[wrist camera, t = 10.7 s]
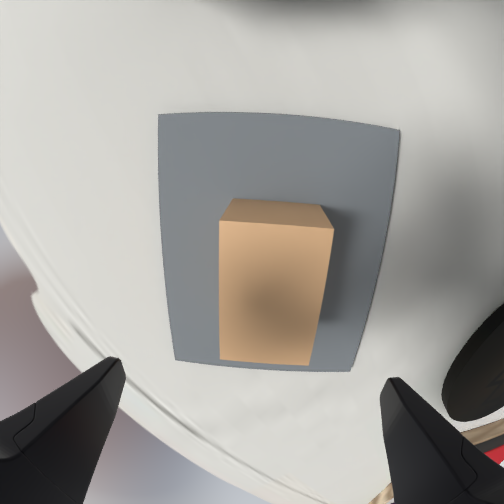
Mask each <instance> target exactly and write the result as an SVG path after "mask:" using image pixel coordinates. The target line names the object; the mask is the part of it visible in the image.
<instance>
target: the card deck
mask: <svg viewBox="0 0 504 504" xmlns="http://www.w3.org/2000/svg"><path fill="white" fill-rule="evenodd" d="M333 234H334V228H333V226H332V224H331V223H330V221H329V219H328V218H327V216H326V214H325V213H324V211H323V209H322V208H321V206H320V205H317V204H306V203H294V202H281V201H267V200H252V199H235V198H233V199H232V201H231V202H230V204H229V206H228V207H227V209H226V210H225V212H224V214H223V215H222V217H221V219H220V220H219V344H220V359H222V360H231V361H242V362H254V363H267V364H283V365H306V366H309V362H310V358H311V353H312V349H313V344H314V339H315V335H316V330H317V325H318V320H319V315H320V310H321V305H322V300H323V294H324V289H325V283H326V278H327V272H328V266H329V260H330V253H331V247H332V240H333Z"/></svg>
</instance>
